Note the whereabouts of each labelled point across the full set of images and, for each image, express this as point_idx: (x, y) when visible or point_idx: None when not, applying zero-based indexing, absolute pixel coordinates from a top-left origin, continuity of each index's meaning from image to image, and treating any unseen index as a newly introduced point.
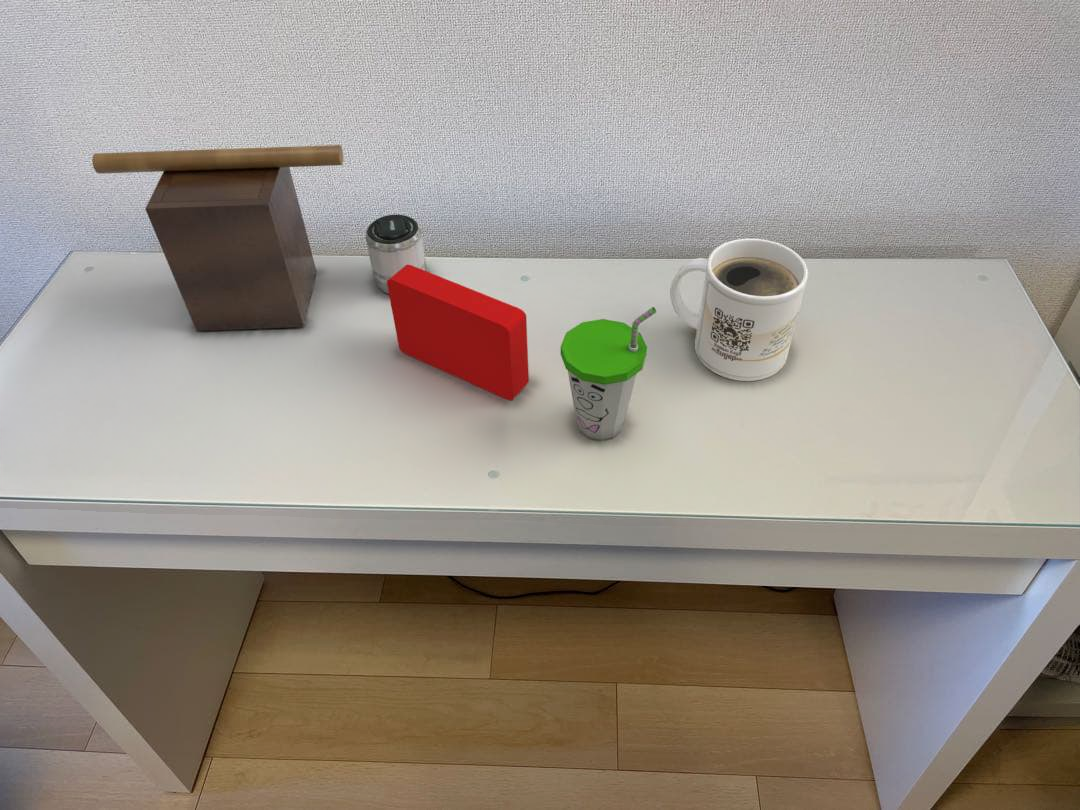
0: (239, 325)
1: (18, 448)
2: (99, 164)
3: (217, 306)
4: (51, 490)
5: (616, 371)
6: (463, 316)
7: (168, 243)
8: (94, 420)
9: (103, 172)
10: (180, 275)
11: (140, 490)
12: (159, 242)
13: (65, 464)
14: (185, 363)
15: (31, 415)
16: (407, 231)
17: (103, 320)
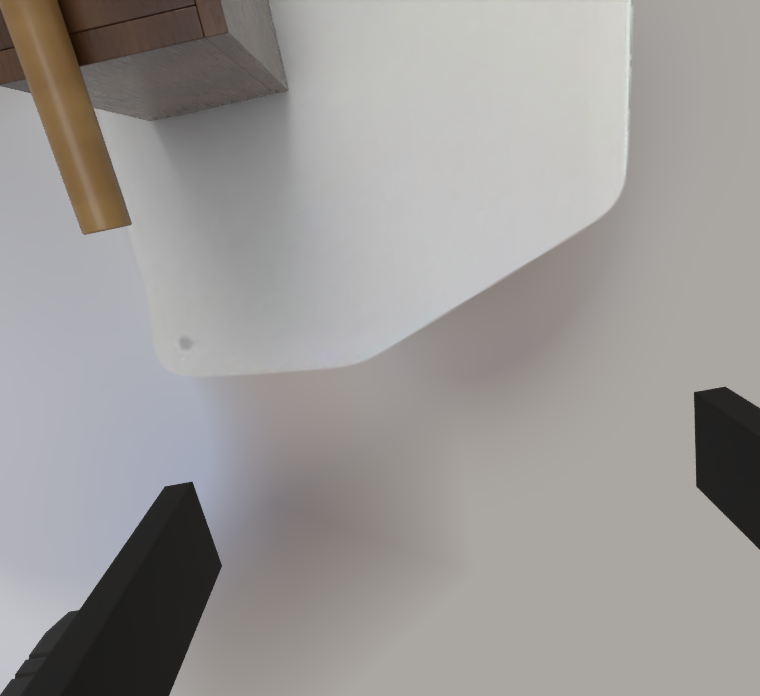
0: (268, 6)
1: (545, 238)
2: (117, 209)
3: (266, 21)
4: (615, 150)
5: None
6: None
7: (245, 33)
8: (488, 160)
9: (126, 207)
10: (263, 53)
11: (613, 16)
12: (250, 51)
13: (570, 156)
14: (359, 76)
15: (487, 255)
16: None
17: (290, 259)
